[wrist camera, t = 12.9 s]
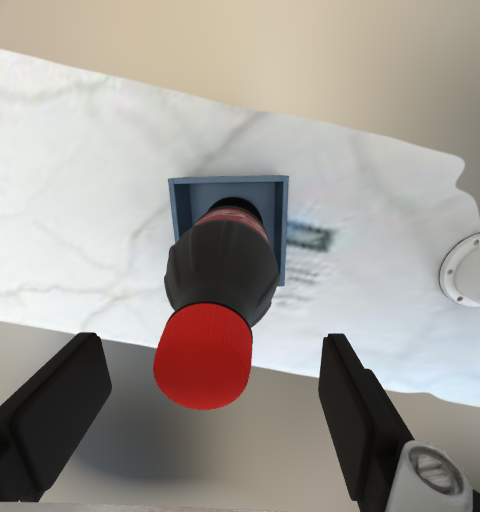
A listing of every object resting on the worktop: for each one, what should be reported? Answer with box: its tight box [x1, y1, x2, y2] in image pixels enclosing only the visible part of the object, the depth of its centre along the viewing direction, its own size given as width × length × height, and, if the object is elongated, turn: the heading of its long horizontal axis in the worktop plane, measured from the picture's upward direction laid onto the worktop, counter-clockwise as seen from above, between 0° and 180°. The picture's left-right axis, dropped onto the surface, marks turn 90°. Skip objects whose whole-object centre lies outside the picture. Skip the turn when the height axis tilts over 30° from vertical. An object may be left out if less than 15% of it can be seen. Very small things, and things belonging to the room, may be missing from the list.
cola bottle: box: [153, 197, 280, 410], centre depth 23 cm, size 8×8×30 cm
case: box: [168, 175, 289, 286], centre depth 34 cm, size 14×14×9 cm
